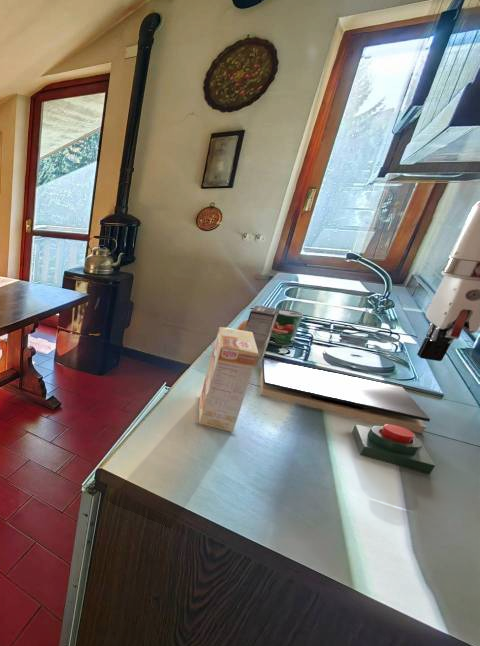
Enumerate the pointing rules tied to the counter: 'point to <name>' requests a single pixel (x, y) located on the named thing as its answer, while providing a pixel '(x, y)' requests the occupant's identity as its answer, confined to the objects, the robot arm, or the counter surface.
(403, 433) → the button
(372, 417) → the laptop
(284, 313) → the canned tomato
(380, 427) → the switch box
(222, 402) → the coffeecake box
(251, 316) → the coffee box
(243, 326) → the egg
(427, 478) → the counter surface
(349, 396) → the laptop screen
